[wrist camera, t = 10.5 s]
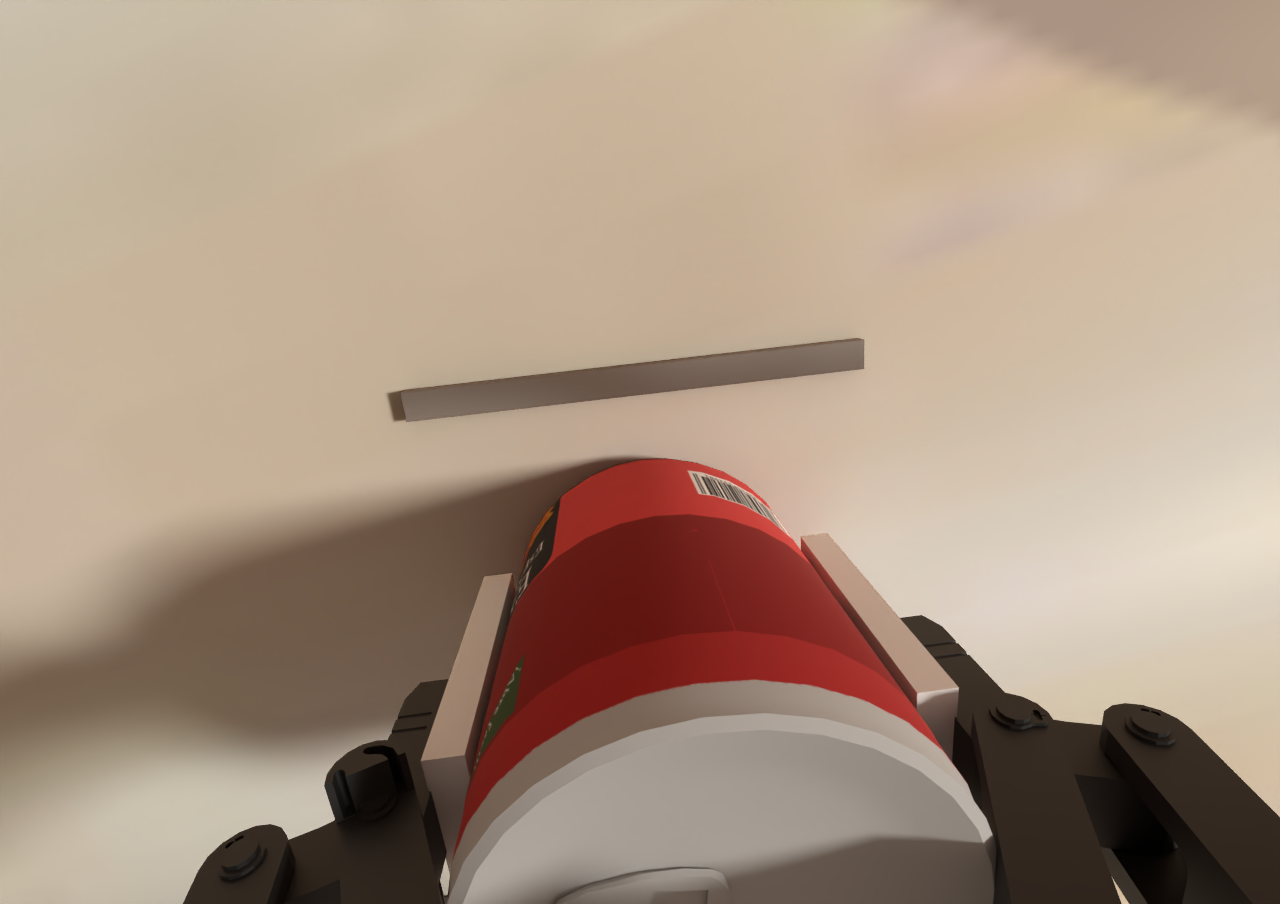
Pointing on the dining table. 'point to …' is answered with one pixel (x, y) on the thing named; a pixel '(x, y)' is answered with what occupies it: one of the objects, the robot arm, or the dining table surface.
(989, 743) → the robot arm
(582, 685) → the canned food
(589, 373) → the board
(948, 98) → the dining table surface
